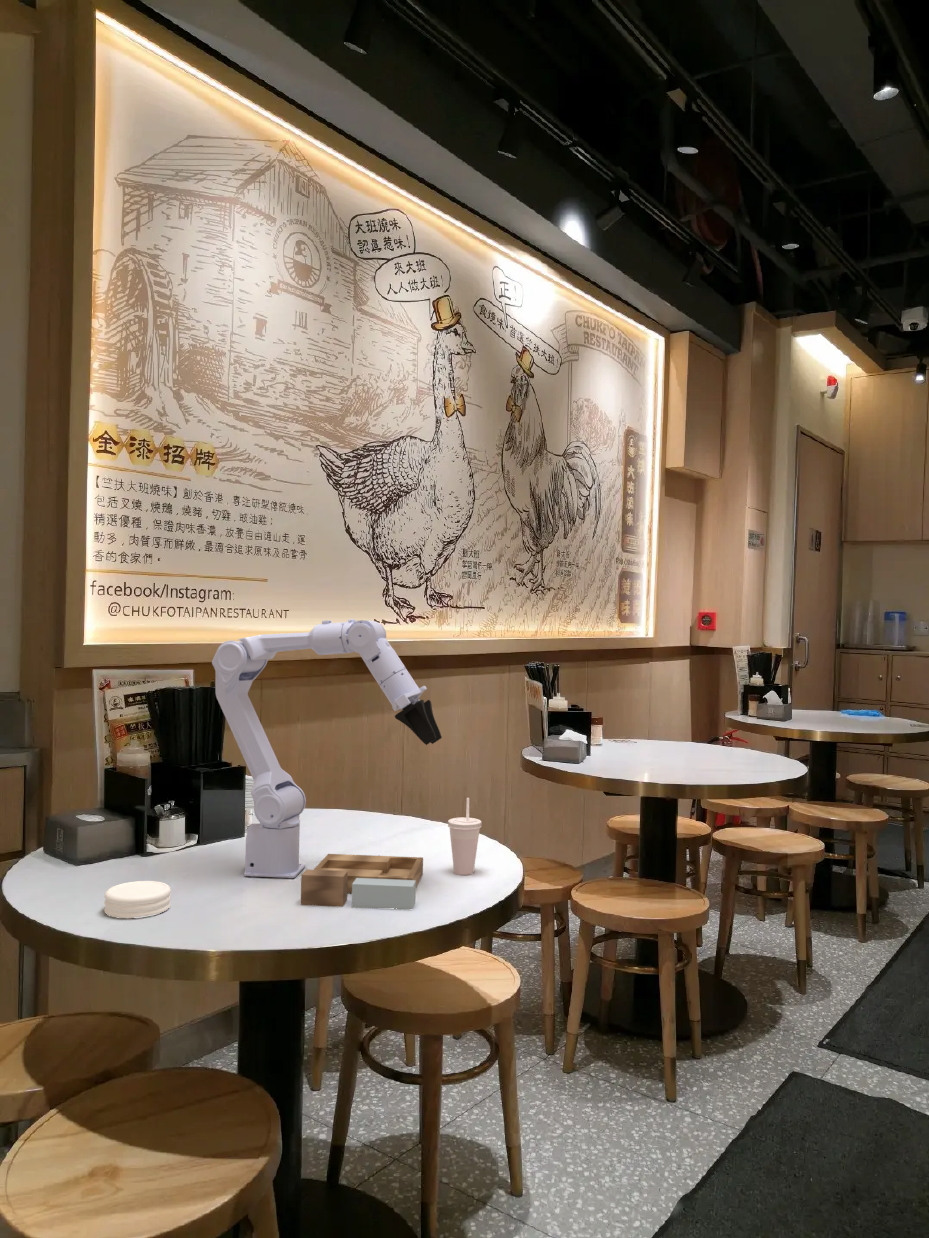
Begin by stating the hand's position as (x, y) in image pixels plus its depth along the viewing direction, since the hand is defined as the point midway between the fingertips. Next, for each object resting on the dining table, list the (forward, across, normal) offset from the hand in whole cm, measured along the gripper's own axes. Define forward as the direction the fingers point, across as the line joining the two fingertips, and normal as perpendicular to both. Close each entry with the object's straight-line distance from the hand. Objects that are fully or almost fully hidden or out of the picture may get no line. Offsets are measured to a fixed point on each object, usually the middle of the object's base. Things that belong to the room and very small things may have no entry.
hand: (434, 741), depth 157 cm
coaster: (-3, -17, +53) cm, 56 cm away
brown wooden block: (+13, -9, +29) cm, 33 cm away
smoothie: (+23, +13, +10) cm, 28 cm away
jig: (+14, +3, +24) cm, 28 cm away
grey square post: (+18, -9, +21) cm, 29 cm away
